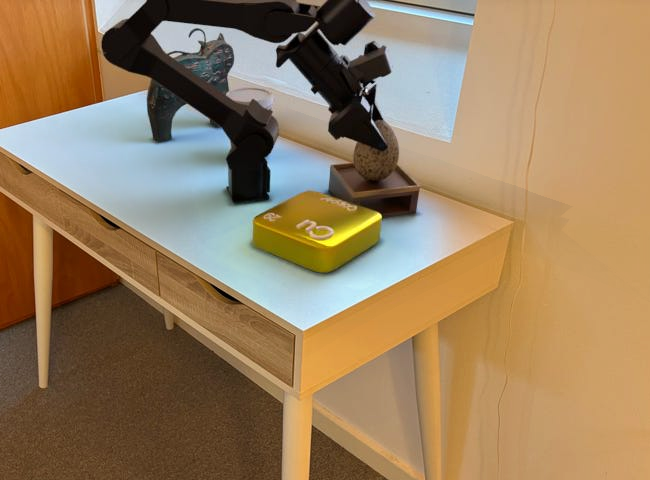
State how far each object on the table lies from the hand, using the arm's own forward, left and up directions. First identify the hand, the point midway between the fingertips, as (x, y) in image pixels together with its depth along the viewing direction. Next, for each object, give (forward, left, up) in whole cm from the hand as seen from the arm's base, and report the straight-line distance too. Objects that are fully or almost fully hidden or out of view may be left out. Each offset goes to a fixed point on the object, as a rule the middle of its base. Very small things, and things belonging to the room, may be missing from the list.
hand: (386, 141), depth 115 cm
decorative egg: (-1, +1, -7) cm, 7 cm away
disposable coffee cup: (-17, +26, -11) cm, 33 cm away
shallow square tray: (-1, +1, -11) cm, 11 cm away
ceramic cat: (-25, +43, -11) cm, 51 cm away
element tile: (-14, -11, -11) cm, 21 cm away
